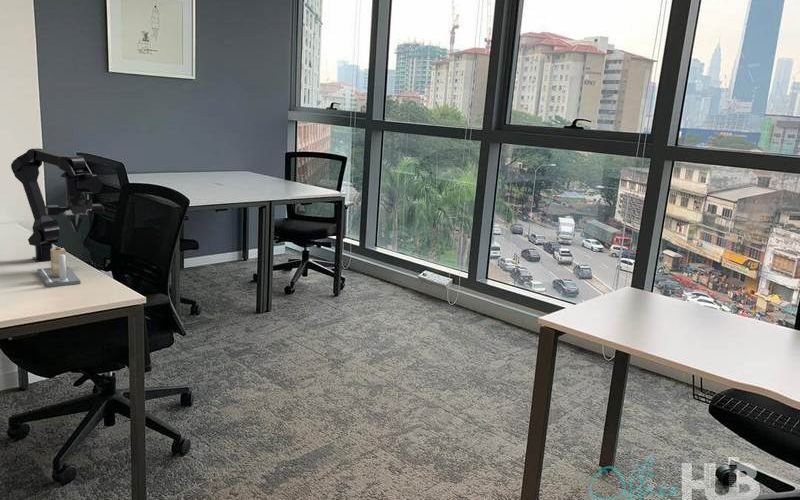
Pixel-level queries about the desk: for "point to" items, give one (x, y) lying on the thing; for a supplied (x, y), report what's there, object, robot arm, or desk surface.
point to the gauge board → (54, 279)
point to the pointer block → (56, 260)
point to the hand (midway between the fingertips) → (76, 232)
